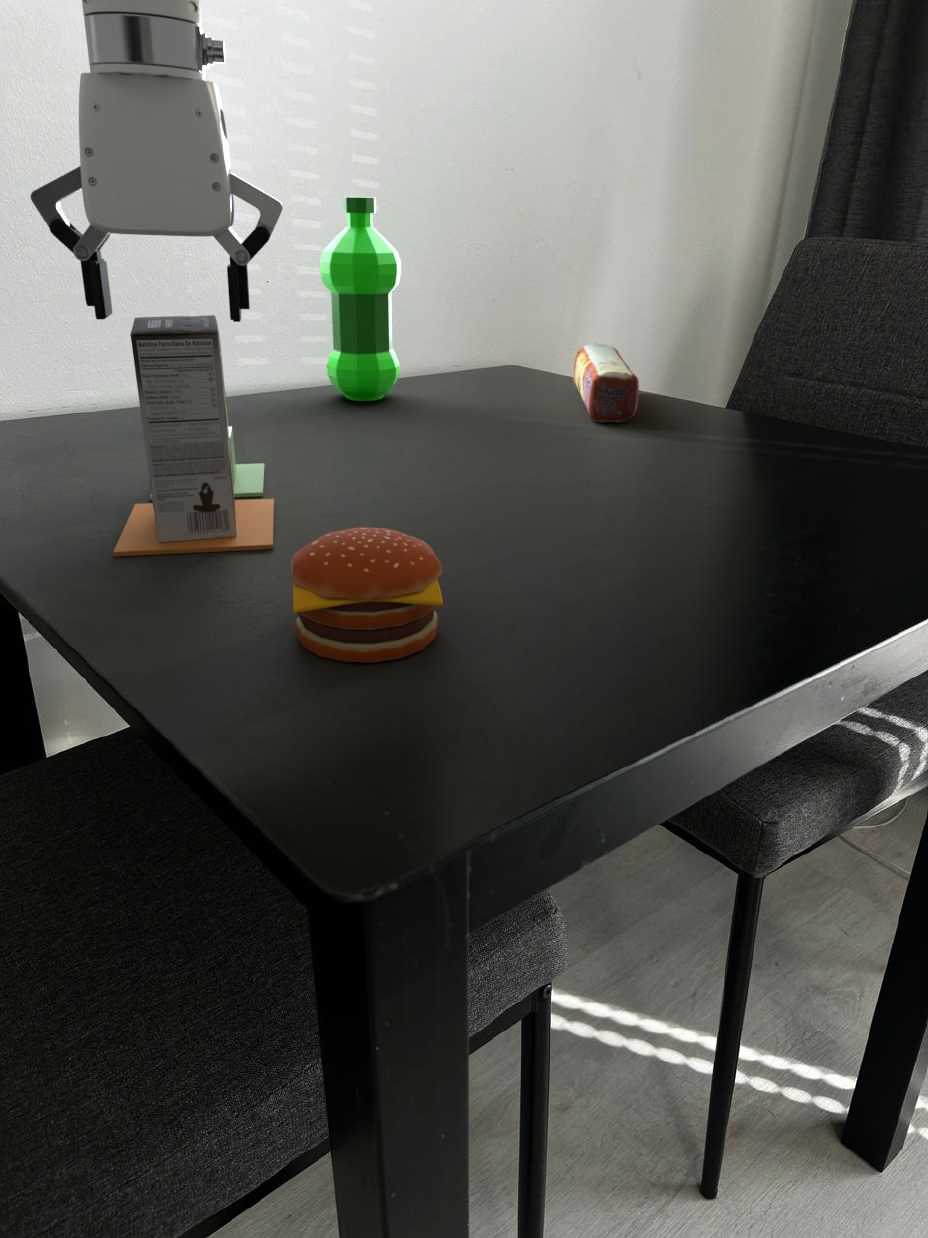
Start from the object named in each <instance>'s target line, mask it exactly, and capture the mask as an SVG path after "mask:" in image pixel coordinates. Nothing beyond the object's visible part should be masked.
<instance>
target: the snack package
mask: <svg viewBox="0 0 928 1238" xmlns="http://www.w3.org/2000/svg"><path fill="white" fill-rule="evenodd" d="M572 374H573V375H572V379H573V383H574V385H575V387H576V388H577V390H578V393H579V396H580V398H581V399H582V402H583V403H584V405H585V407H586V410H587V413H588V416H589V417H590V419H591V420H593V421H594V422H596V423H605V422H608V423H607V424H609V422H611V423H612V422H616V423H625V422H627V421H630V420H631V419H632V418H633V417H634V416H635V414H636V412H637V410H638V409H637V408H638V403H639V395H640V394H639V393H640V382H639V381H640V380H639V378H638V376H636V374H635V373H634V372H633V371H632V370H631V368H630V367H629V365H628V364H627V362H625V361H624V359H623V357H622V356H621V354H620V352H619V351H618V349H617V348H615V346H614V347H613V346H611V345H608V344H603V343H593V344H586V345H584V346H582V347H580V348H579V350H578V351H577V352H576V355H575V357H574V363H573V373H572Z"/></svg>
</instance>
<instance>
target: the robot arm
mask: <svg viewBox="0 0 928 1238" xmlns="http://www.w3.org/2000/svg"><path fill="white" fill-rule="evenodd" d="M81 5H82V13H83V14H82V15H83V21H84V30H85V39H86V46H87V57H88V65H89V72H82V73H80V78H79V90H78V144H79V163H80V164H79V166H78V167H76V168H74V169H72V170H70V171H68V172H66V173H65V174H63V175H61V176H59V177H57V178H55V179H53V180H51V181H49V182H48V183H45V184H44V185H41V186H39V187H38V188H36V189H35V190H33V191H32V192H31V193H30V201H31V202H32V204H33V205H34V207H35V209H36V211H37V212H38V213H39V216H41V218H42V220H43V221H44V222H45V224H46V225H47V227H48V228H49V231H50V233H51V235H52V236H54V237H55V239H57V240H58V241H59V242H60V243H61V244H63V245H64V247H66V248H67V249H68V250H69V251H70V252H71V253H72V254H73V255H74V257H75V258H76V260H78V261H80V269H81V275H82V285H83V291H84V298H85V304H86V306H87V307H94V313H95V315H94V316H95V319H96V320H106V319H107V318H108V317H110V316H111V315H112V314H113V305H112V297H111V288H110V287H111V286H110V278H109V271H108V264H107V261H106V260H105V259H104V258H102V251H101V250H102V249H103V247H104V246H105V244H106V243H107V242H108V240H109V239H110V238H111V237H112V235H113V234H117V235H137V236H138V235H141V236H166V237H169V236H170V237H203V238H205V237H213V238H214V239H215V240H216V241H217V243H218V244H219V245H220V246H221V247H222V248H223V250H224V251H225V252H226V253H227V254H228V255H229V263H228V264H227V266H226V274H227V288H228V305H229V317H230V319H229V320H230V321H232V322H233V323H241V321H242V310H250V306H251V305H250V288H249V287H250V285H249V272H248V271H249V270H248V264H249V263H250V262H251V260H252V259H253V258H254V257H256V255H257V254H258V253H259V252H260V251H261V250H262V249H263V247H265V246H266V244H267V243H268V242H269V241H270V239H271V236H272V234H273V232H274V230H275V228H276V225H277V223H278V220H279V219H280V216H281V214H282V212H283V204H282V202H281V201H280V200H278V199H277V198H275V197H274V196H273V195H272V196H271V195H269V194H268V193H267V192H265V191H263V190H262V189H260V188H258V187H256V186H255V185H253V184H251V183H249V182H247V181H246V180H245V179H243V178H241V177H239V176H237V175H236V174H235V173H232V169H231V157H230V151H229V141H228V133H227V127H226V126H227V125H226V121H225V114H224V109H223V105H222V99H221V96H220V91H219V88H218V85H217V83H216V82H213V81H210V80H206V75H207V74H206V73H207V72H206V70H207V69H210V65H211V66H215V64H226V50H225V49H226V47H225V41H224V40H215V39H214V38H213V37H208V36H207V33H204V30H203V29H202V24H203V23H202V13H201V12H202V10H201V0H81ZM81 191H82V192H81ZM78 192H81V193H82V199H83V200H82V202H83V206H84V207H83V208H84V213H85V216H86V219H87V221H88V223H89V225H88V227H87V228H86V230H85V231H84V232H83V233H82V232H81V231H79V229H77V228H76V226H75V225H73V224H72V223H71V222H70V221H69V220H68V219H67V217H66V216H65V214H64V212H63V210H62V208H61V202H62V201H63V200H65V199H67V198H68V197H71V196H72V195H75V194H76V193H78ZM234 196H235V197H236V198H238V199H240V200H242V201H243V202H246V203H247V204H249V205H251V206H252V207H254V208H256V209H257V210H258V211H259V217H258V220H257V223H256V225H255V226H254V227H255V228H254V229H253V230H252V231H251V233H249V234H248V235H247V237H245V239H244V240H242V239H241V238H240V237H239V236H238V234H237V233H236V232H235V231H234V230H233V228H232V226H233V224H234V220H235V203H234V202H235V201H234Z"/></svg>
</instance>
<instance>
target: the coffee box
mask: <svg viewBox="0 0 928 1238" xmlns="http://www.w3.org/2000/svg"><path fill="white" fill-rule="evenodd" d="M129 335H130V343H131V349H132V357H133V364H134V371H135V381H136V386H137V394H138V403H139V409H140V417H141V423H142V424H141V425H142V432H143V440H144V447H145V454H146V460H147V468H148V476H149V482H150V483H149V485H150V494H151V493H152V503H153V508H154V515H155V523H156V530H157V537H158V542H161V543H165V542H177V541H190V540H201V539H213V538H227V537H236V536H237V525H236V512H235V500H236V499H235V497H234V487H233V475H232V463H231V451H230V440H229V428H228V427H229V420H228V419H229V418H228V408H227V407H228V406H227V405H228V404H227V396H226V395H227V394H226V385H225V377H224V365H223V355H222V354H223V353H222V345H221V337H220V331H219V325H218V321H217V318H216V315H214V314H210V315H207V314H206V315H175V316H174V315H173V316H172V315H171V316H168V315H167V316H143V317H140V316H139V317H134V320H133V323H132V327H131V331H130V334H129Z"/></svg>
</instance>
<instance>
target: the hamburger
mask: <svg viewBox="0 0 928 1238" xmlns="http://www.w3.org/2000/svg"><path fill="white" fill-rule="evenodd" d="M442 566H443V565H442V563H441V562H440V559H438V556H437V555H436V554H435V552H434V551H433V548H432V547H431V546H430V545H429V544H428V543H427V542H425V541H424V540H422V539H420V538H418V537H415V536H412V535H409V534H407V533H403V532H400V531H397V530H394V529H391V528H385V527H383V528H382V527H364V526H363V527H362V526H360V527H353V528H346V529H342V530H335V531H330V532H328V533H326V534H324V535H322V536H320V537H319V538H316V539H315V540H313V541H311V542H310V543H308V544H305V545H304V546H303V547H301V548H300V549H299V550H297V551H296V552H295V553H294V555H293V556H292V558H291V563H290V570H291V571H290V572H291V579H292V584H293V585H292V586H293V587H292V588H293V591H292V604H293V605H292V606H293V607H292V608H293V609H292V611H293V612H292V613H293V614H297V618H296V621H295V623H294V627H295V633H296V635H297V636H298V639H299V641H300V643H301V645H302V647H303V648H305V649H307V650H308V651H310V652H312V653H313V654H315V655H316V656H318V657H321V658H326V659H330V660H335V661H339V662H344V663H362V664H363V663H364V664H365V663H367V664H374V663H380V662H381V663H382V662H387V661H392V660H398V659H403V658H406V657H409V656H410V655H414V654H416V653H418V652H421V651H423V650H424V649H425V648H426V647H427V646H428V645H430V643H432V642H433V641H434V640H435V639H436V637H437V632H438V624H439V615H438V614H437V612H436V609H435V608H436V606H438V607H444V602H443V597H442V590H441V587H440V584H439V580H438V578H439V577H440V576H441V575H443V567H442Z"/></svg>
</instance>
